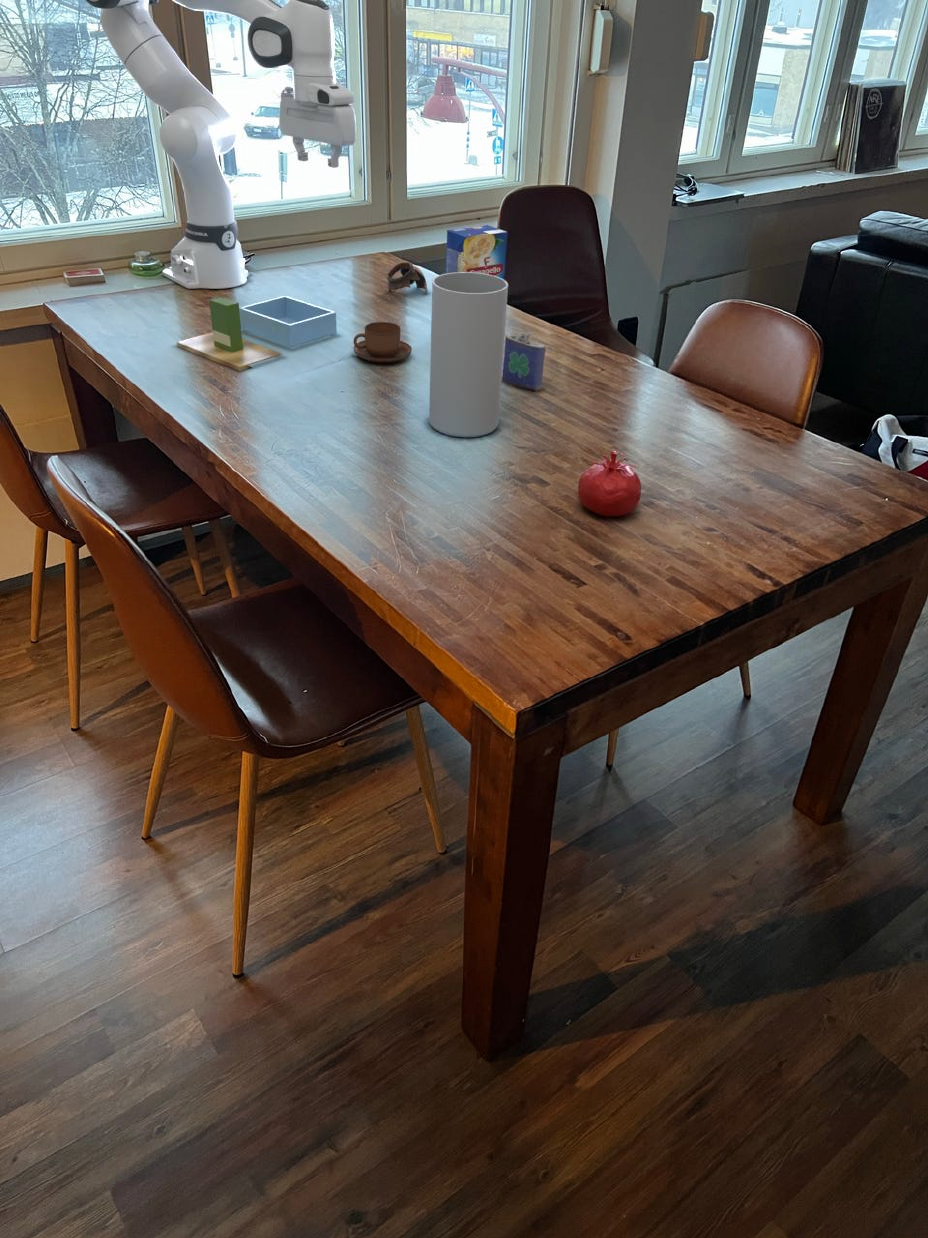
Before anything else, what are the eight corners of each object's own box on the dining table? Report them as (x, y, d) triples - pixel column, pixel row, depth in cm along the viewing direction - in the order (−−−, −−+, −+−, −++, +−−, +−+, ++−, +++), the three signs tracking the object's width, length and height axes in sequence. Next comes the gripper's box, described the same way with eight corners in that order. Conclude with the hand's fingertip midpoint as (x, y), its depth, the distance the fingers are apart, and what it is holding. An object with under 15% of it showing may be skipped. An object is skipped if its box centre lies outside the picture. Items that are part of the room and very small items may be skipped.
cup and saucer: (377, 371, 187) (376, 341, 183) (342, 354, 194) (341, 324, 191) (423, 359, 194) (423, 330, 190) (388, 343, 201) (388, 314, 197)
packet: (213, 346, 192) (208, 299, 187) (226, 342, 194) (221, 296, 189) (231, 352, 189) (226, 305, 184) (243, 349, 191) (239, 302, 186)
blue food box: (500, 334, 209) (507, 231, 196) (461, 342, 203) (466, 237, 190) (482, 326, 213) (487, 224, 200) (443, 333, 208) (446, 229, 195)
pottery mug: (432, 299, 230) (418, 272, 224) (398, 314, 232) (383, 287, 226) (428, 273, 237) (414, 246, 231) (395, 288, 240) (380, 262, 234)
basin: (241, 332, 203) (238, 307, 200) (286, 319, 211) (285, 295, 208) (291, 350, 195) (290, 325, 192) (336, 336, 203) (336, 311, 200)
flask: (544, 389, 183) (548, 335, 177) (535, 393, 181) (539, 339, 175) (507, 377, 187) (510, 324, 181) (498, 381, 186) (501, 327, 179)
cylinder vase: (464, 405, 175) (470, 268, 160) (512, 426, 167) (523, 284, 153) (414, 422, 167) (416, 279, 153) (463, 445, 160) (470, 298, 146)
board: (177, 346, 194) (176, 341, 193) (219, 334, 201) (218, 330, 200) (240, 371, 184) (239, 366, 183) (282, 357, 191) (281, 353, 190)
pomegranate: (595, 528, 138) (603, 472, 133) (563, 498, 146) (570, 443, 140) (651, 517, 142) (662, 462, 136) (617, 489, 149) (626, 435, 144)
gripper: (269, 86, 196) (274, 158, 204) (338, 96, 186) (340, 172, 194) (292, 84, 200) (296, 155, 208) (360, 94, 190) (361, 168, 198)
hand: (318, 163), depth 201 cm, fingers open, 8 cm apart
